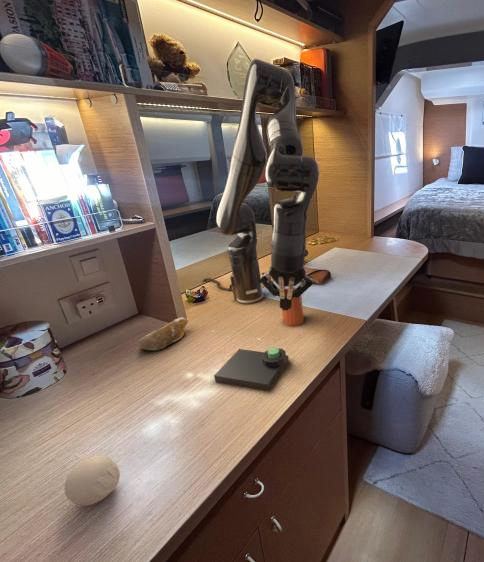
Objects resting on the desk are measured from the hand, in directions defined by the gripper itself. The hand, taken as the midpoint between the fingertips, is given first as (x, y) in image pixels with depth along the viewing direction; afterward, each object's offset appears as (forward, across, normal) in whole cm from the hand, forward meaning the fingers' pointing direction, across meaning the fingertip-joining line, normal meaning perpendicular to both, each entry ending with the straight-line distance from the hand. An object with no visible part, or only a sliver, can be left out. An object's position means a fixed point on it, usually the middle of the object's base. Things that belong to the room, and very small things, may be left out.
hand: (285, 308), depth 85 cm
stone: (+20, +34, -8) cm, 40 cm away
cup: (+15, -2, -14) cm, 21 cm away
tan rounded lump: (+12, +27, +38) cm, 48 cm away
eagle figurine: (+23, -3, -63) cm, 67 cm away
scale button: (+9, +2, +8) cm, 12 cm away
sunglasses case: (+20, -6, -46) cm, 51 cm away
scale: (+13, +7, +9) cm, 17 cm away
